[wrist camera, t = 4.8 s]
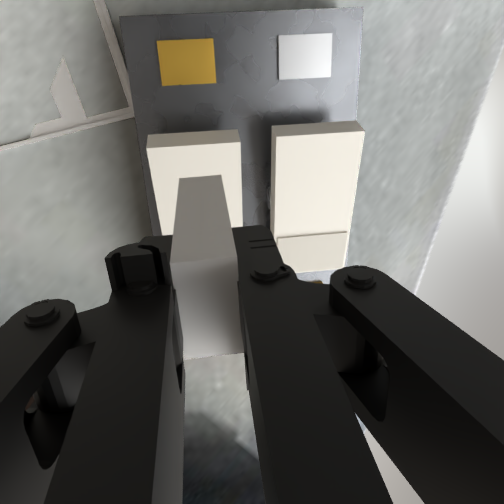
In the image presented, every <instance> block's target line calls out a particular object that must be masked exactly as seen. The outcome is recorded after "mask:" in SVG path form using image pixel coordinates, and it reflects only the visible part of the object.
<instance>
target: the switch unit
mask: <svg viewBox="0 0 504 504" xmlns="http://www.w3.org/2000/svg"><path fill="white" fill-rule="evenodd" d="M363 9H364V7H348V8H322V9H296V10H270V11H244V12H218V13H192V14H166V15H140V16H119V18H120V25H121V31H122V38H123V44H124V51H125V57H126V64H127V71H128V77H129V84H130V90H131V97H132V103H133V110H134V116H135V123H136V129H137V136H138V142H139V149H140V155H141V162H142V168H143V175H144V181H145V188H146V194H147V201H148V207H149V214H150V220H151V227H152V233H153V236H162V231H161V226H160V220H159V215H158V209H157V204H156V199H155V193H154V188H153V182H152V177H151V171H150V166H149V161H148V155H147V150H146V146H147V138H148V135H152V134H168V133H184V132H200V131H216V130H231V129H238V133H239V138H240V142H241V178H242V215H243V226H254V225H263V226H264V227H266V228H267V229H269V230H270V210H271V138H272V126H275V125H291V124H307V123H323V122H339V121H355V120H356V118H357V102H358V87H359V71H360V56H361V40H362V24H363ZM348 243H349V240H348ZM347 259H348V247H347V253H346V260H345V266H344V267H347ZM336 270H338V269H334V270H324V271H313V272H302V273H296V276H297V278H298V279H299V280H302V281H306V282H312V283H322V284H330V275H331V274H332V273H333V272H334V271H336Z"/></svg>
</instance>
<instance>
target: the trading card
mask: <svg viewBox="0 0 504 504" xmlns="http://www.w3.org/2000/svg"><path fill="white" fill-rule="evenodd" d="M93 2H94V5H95V8H96V11H97V14H98V17H99V20H100V22H101V25H102V28H103V31H104V34H105V37H106V40H107V43H108V46H109V49H110V52H111V55H112V58H113V61H114V64H115V67H116V70H117V73H118V76H119V78H120V81H121V84H122V87H123V90H124V93H125V96H126V99H127V102H128V105H129V107H126V108H122V109H118V110H114V111H110V112H106V113H102V114H98V115H95V116H91V117H87V116H86V114H85V111H84V109H83V106H82V103H81V101H80V98H79V96H78V93H77V90H76V88H75V85H74V83H73V80H72V77H71V75H70V72H69V70H68V67H67V64H66V62H65V59H64V57H62V60H61V62H60V64H59V67H58V69H57V72H56V74H55V77H54V79H53V82H52V84H51V86H50V91H51V93H52V96H53V98H54V101H55V103H56V106H57V108H58V110H59V113H60V115H61V118H58V119H54V120H50V121H46V122H42V123H38V124H35V126H34V128H33V131H32V133H31V135H30V138H29V139H26V140H22V141H18V142H14V143H10V144H6V145H2V146H0V151H2V150H6V149H10V148H14V147H18V146H22V145H26V144H30V143H34V142H38V141H42V140H46V139H50V138H54V137H58V136H62V135H66V134H70V133H74V132H78V131H81V130H85V129H89V128H93V127H97V126H101V125H105V124H109V123H113V122H117V121H121V120H125V119H129V118H133V117H135V116H134V110H133V103H132V97H131V90H130V84H129V77H128V71H127V67H126V64H125V61H124V58H123V55H122V52H121V49H120V46H119V43H118V40H117V37H116V34H115V31H114V28H113V25H112V22H111V19H110V16H109V13H108V10H107V7H106V4H105V0H93Z"/></svg>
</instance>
